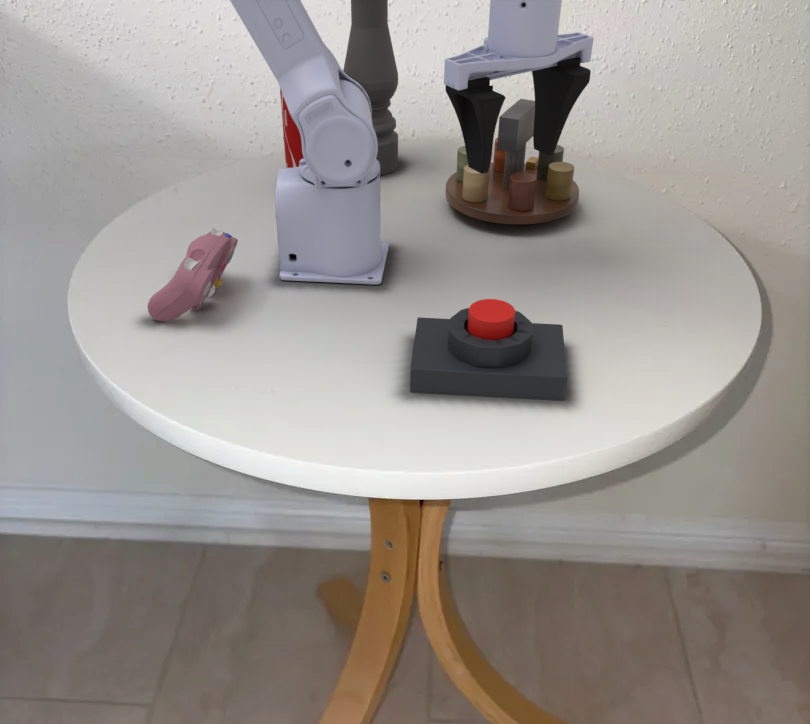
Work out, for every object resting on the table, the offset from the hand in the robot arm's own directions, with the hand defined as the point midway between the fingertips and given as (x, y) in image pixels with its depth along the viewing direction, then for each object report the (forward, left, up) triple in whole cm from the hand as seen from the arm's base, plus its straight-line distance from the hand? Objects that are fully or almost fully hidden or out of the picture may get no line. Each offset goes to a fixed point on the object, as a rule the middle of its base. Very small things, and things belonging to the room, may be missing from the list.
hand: (511, 160), depth 82 cm
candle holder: (-15, +22, -10) cm, 29 cm away
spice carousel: (+1, +12, -8) cm, 15 cm away
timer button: (-1, -20, -6) cm, 20 cm away
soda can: (-21, +16, -10) cm, 29 cm away
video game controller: (-27, -11, -10) cm, 31 cm away
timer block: (-1, -20, -10) cm, 22 cm away
